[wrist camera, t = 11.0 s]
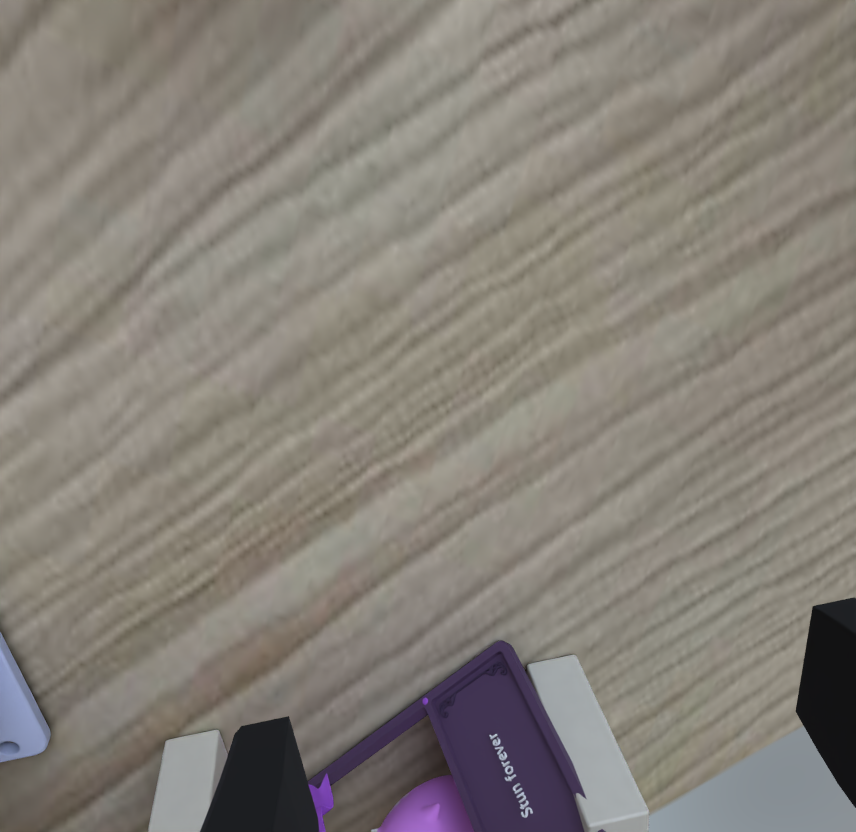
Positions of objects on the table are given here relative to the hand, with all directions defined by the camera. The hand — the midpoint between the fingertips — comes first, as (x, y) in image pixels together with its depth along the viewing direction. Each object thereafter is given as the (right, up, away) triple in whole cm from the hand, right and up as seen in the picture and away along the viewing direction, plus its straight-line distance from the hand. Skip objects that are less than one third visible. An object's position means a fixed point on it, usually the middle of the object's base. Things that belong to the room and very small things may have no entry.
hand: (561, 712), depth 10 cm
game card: (-2, -7, +14) cm, 16 cm away
